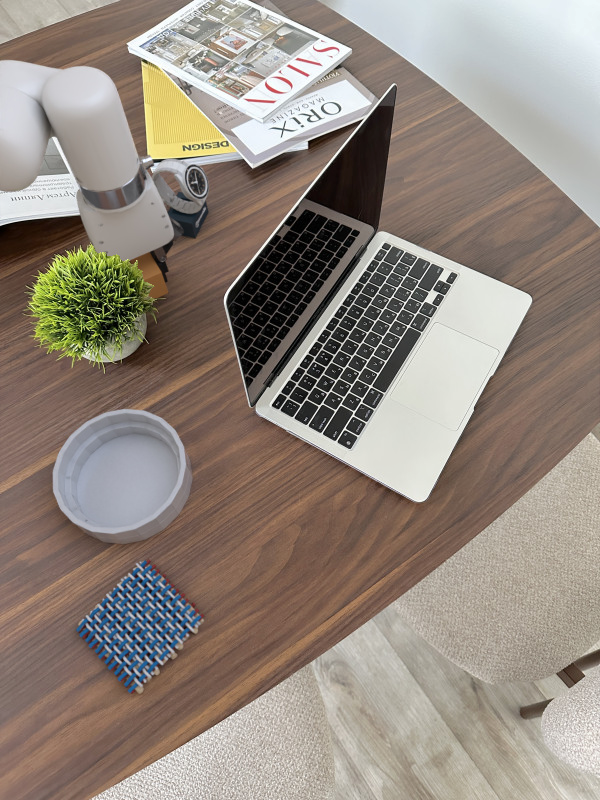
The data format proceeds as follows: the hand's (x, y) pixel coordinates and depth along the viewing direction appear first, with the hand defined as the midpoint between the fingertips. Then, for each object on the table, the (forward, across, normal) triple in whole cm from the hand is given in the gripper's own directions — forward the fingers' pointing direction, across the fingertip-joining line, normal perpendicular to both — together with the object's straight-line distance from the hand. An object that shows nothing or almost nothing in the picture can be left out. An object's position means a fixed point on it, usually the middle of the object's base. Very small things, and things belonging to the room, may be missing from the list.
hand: (149, 280), depth 89 cm
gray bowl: (+2, +14, +26) cm, 30 cm away
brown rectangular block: (+1, 0, 0) cm, 1 cm away
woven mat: (+2, +19, +42) cm, 46 cm away
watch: (+2, -10, -9) cm, 14 cm away
